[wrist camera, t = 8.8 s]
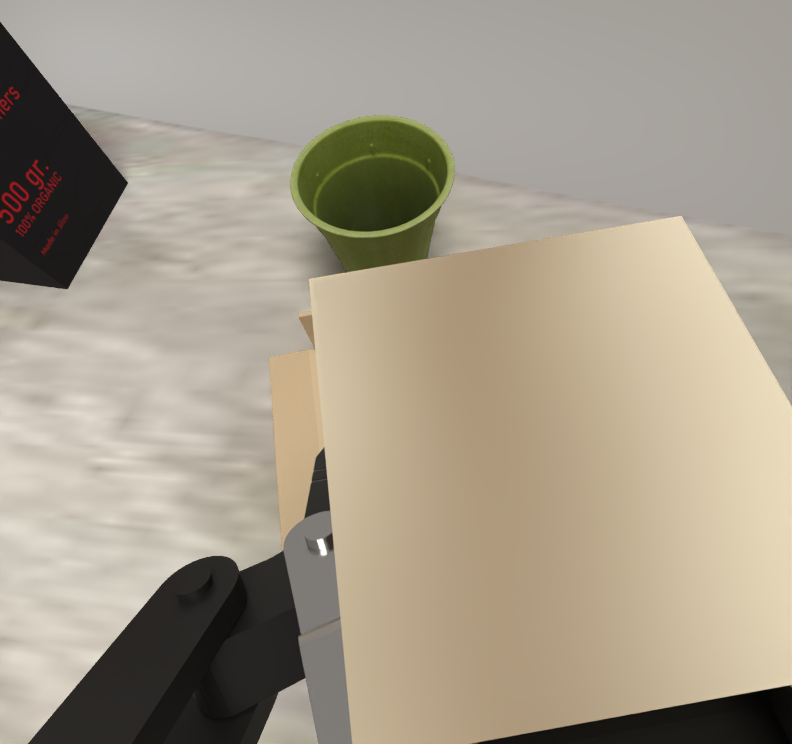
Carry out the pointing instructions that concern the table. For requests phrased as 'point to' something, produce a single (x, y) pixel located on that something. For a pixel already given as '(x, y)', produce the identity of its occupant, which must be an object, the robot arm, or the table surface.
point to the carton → (295, 427)
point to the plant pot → (374, 189)
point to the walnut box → (551, 487)
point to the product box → (46, 178)
